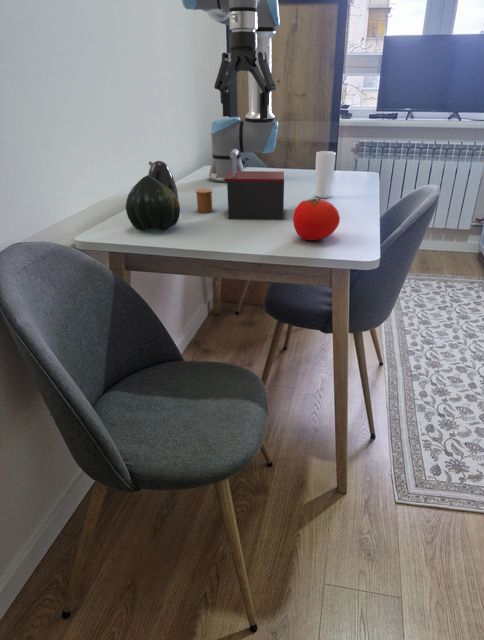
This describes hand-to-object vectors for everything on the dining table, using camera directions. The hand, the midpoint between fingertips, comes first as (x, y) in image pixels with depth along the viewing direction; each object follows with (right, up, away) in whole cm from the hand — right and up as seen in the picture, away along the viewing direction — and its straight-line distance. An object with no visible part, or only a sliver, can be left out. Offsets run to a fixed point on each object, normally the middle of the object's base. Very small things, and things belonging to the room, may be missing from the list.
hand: (244, 117), depth 141 cm
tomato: (+20, -39, -11) cm, 45 cm away
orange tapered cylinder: (-13, -24, +14) cm, 31 cm away
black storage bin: (+3, -26, +11) cm, 28 cm away
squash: (-26, -34, -3) cm, 43 cm away
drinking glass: (+27, -13, +32) cm, 44 cm away
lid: (+3, -16, +5) cm, 17 cm away
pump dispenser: (-27, -23, +15) cm, 39 cm away
